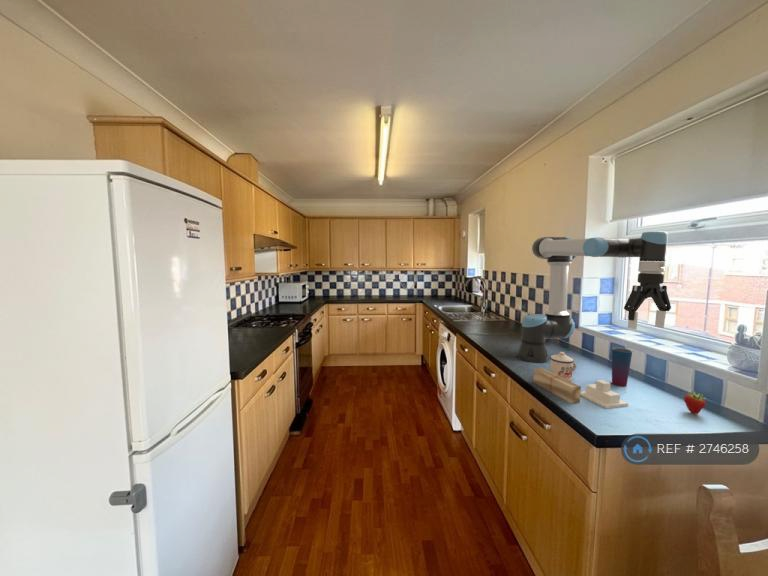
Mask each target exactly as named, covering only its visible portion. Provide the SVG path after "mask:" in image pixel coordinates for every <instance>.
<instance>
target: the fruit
mask: <svg viewBox="0 0 768 576" xmlns="http://www.w3.org/2000/svg"><path fill="white" fill-rule="evenodd" d="M703 396H704V394H703V393H702V394H701V392H698V393H696V391H695V390H692V391H691V393H690V392H687V394H686V395H685V396H684V398H683V400H684V403H685V406H686V408H687V410H688V411H689V412H690V413H691V414H694V415H698V414H700V412H701V411H702V409H703V408H704V407H706V404H707V402H706V399H707V398H706V397H703Z"/></svg>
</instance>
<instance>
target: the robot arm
mask: <svg viewBox="0 0 768 576" xmlns="http://www.w3.org/2000/svg"><path fill="white" fill-rule="evenodd" d="M668 235H669V234H668V232H667V231H661V230H656V231H653V230H652V231H645V232H642V234H641V237H639V238H637V237H636V238H635V237H633V238H622V237H616V238H614V237H609V238H608V237H596V236H595V237H591V238H590V237H589V238H572V237H566V236H543V237H540V238H537V239H536V240H535V241H533V244H532V246H531V250H532V253H533V255H534V256H535V257H537V258H538V259H541V260H547V261H546V262H547V264H548V265H549V268H550V269H549V288H548V289H549V290H548V291H549V292H548V293H549V294H548V310H547V311H546V312H545V314H542V313H530V314H526V315H524V316H523V317H522V321H521V335H520V336H521V339H520V344H519V347H518V350H517V352H516V358H518V359H519V360H521V361H525V362H531V363H545V362H548V360H549V355H548V351H547V348H546V340H548V339H549V340H551V339H561V340H562V339H567V338H568V339H569V338H570V337H571V336H572V335H573V334H574V332H575V330H576V329H575V328H576V325H575V321H574V319H573V318H572V317H571V313H569V312H568V292H569V289H568V288H569V267H570V265H571V264H572V263H573V259H576V257H590V258H591V257H593V258H599V257H600V258H602V257H603V258H605V257H606V258H639V260H638V268H637V269H638V272H639V273H638V274H637V283H639V285H634V284H633V285H632V289H631V292H630V294H629V296H628V298H627V300H626V303H625V304H624V307H623V310H625V312H628V314H627V320H628V322H627V329H632V330H637V326H638V317H639V313H638V309H639V308H640V306H642V304H643V303H644V301H645V300H646V299H649V298H651V299H652V300H653V302H654V304H655V306H656V312H655V321H654V327H656V328H661V329H665V320H666V314H667V312H670V310H671V309H672V306H671V303H670V298H669V295H668V287H667V285H662V284H664V281H665V280H664V279H665V274H663V273H665V267H666V257H667V249H668V244H669V243H668Z"/></svg>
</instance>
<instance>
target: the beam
mask: <svg viewBox="0 0 768 576" xmlns="http://www.w3.org/2000/svg"><path fill="white" fill-rule="evenodd" d="M532 382H533V383H535V384H536V385H538V386H540V388H541V387H542V388H543V389H545V390H546V391H548V392H550V393H551V394H554V395H555V396H557V397H559V398H561V399H562V400H564V401H565V402H568V403H569V404H574V403H575V404H577V403H580V402H581V396H580V392H581V391H582V390H581V389H582V386H580V385H579V384H577V383H574V382H572V381H571V380H570V381H568V380H566V379H564V378H562V377H560V376H558V375H556V374H554V373H552V372H550V370H547V369H545V368H543V367H540V368H539V367H538V368H534V369H533V381H532Z"/></svg>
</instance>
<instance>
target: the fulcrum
mask: <svg viewBox="0 0 768 576" xmlns="http://www.w3.org/2000/svg"><path fill="white" fill-rule="evenodd" d="M611 384H612V382H609V381H606V380H604V379H600V380H599V379H598V380H596V382H595V383H592V384H586V386H585V387H586V388H585V389H586V390H583V391H582V390H581V392H580V397H582V398H584V399H586V400H588V401H590V402H592V403H594V404H596V405H598V406H600V407H602V408H603V409H612V408H613V409H614V408H623V407H628V406H629V402H627V401H624V400H622V399H621V395H620V394H619V393H617V392H615V391H613V390H611Z"/></svg>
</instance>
